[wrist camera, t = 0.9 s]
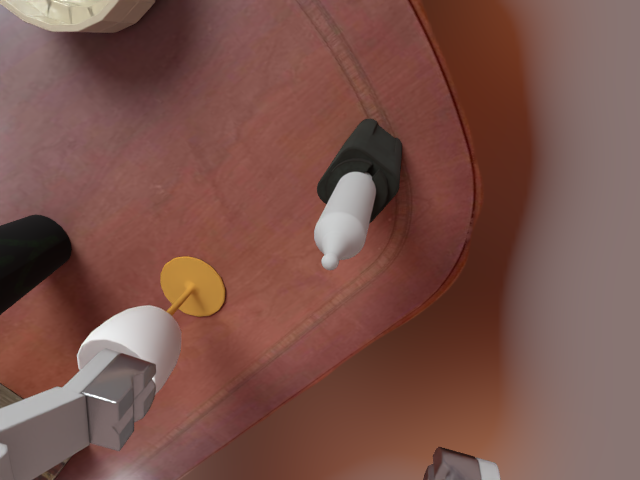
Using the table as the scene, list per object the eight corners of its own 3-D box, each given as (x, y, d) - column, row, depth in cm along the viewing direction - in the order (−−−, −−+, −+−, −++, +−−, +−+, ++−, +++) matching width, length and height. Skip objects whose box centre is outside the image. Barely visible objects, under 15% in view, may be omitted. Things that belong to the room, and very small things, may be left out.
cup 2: (184, 242, 52) (99, 318, 38) (239, 290, 53) (176, 381, 39) (148, 283, 56) (58, 365, 41) (200, 327, 57) (130, 421, 43)
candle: (407, 145, 42) (403, 261, 19) (374, 183, 44) (339, 326, 22) (367, 113, 41) (316, 195, 19) (336, 153, 43) (259, 269, 21)
